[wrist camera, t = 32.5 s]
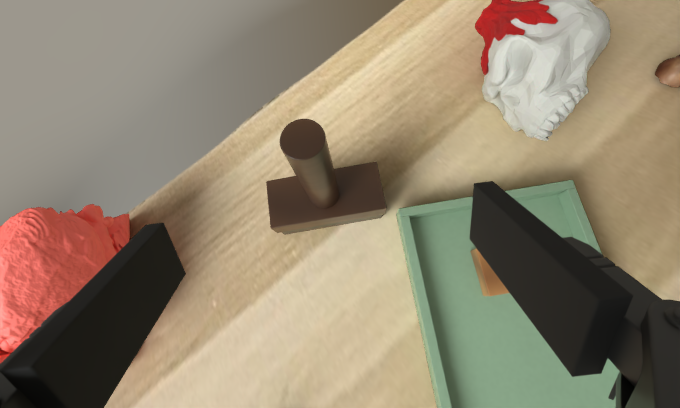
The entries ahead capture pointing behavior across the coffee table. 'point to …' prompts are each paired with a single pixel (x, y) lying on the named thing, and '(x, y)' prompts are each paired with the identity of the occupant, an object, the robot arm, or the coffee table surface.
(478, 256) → the wooden block
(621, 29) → the coffee table surface
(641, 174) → the coffee table surface
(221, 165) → the coffee table surface
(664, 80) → the lilac doll
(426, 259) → the tray
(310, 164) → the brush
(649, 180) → the coffee table surface
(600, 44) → the candle
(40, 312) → the heart organ
